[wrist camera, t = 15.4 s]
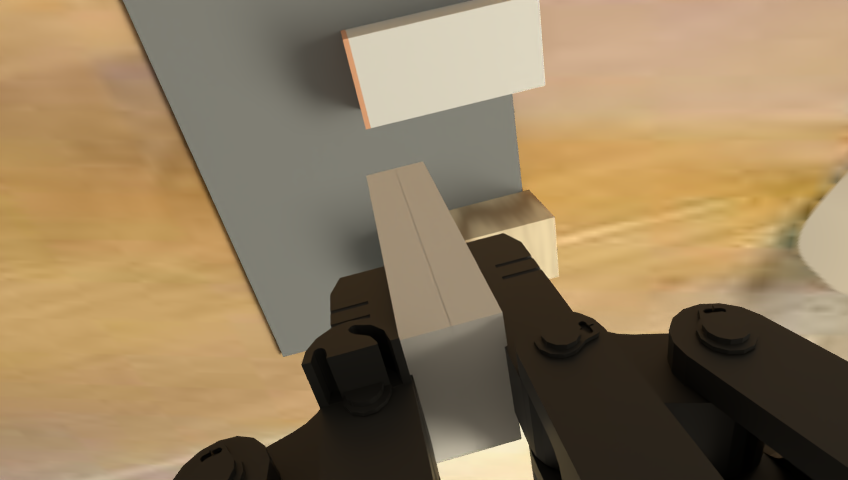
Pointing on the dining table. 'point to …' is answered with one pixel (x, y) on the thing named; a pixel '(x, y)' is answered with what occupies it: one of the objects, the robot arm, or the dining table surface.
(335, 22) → the rubber mat
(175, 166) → the dining table surface
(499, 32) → the cream painted block
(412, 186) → the robot arm
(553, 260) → the birch block
